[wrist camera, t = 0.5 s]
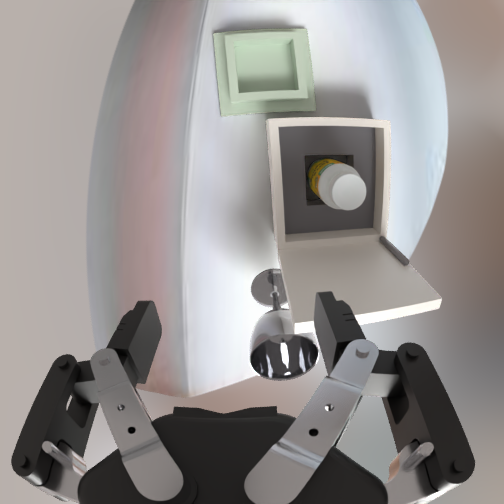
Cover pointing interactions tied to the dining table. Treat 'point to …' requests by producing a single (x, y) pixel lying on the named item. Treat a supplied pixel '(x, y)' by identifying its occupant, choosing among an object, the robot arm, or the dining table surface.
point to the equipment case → (339, 224)
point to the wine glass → (278, 334)
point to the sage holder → (264, 71)
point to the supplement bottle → (336, 184)
